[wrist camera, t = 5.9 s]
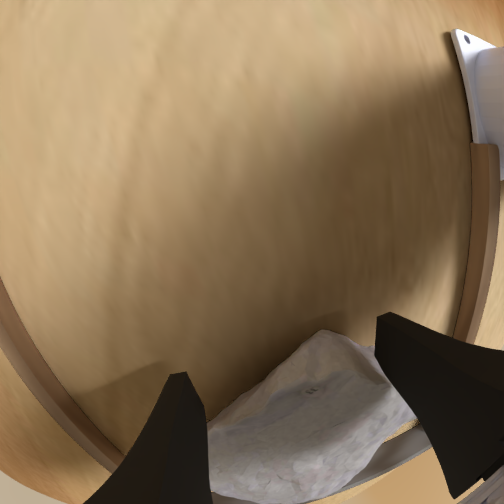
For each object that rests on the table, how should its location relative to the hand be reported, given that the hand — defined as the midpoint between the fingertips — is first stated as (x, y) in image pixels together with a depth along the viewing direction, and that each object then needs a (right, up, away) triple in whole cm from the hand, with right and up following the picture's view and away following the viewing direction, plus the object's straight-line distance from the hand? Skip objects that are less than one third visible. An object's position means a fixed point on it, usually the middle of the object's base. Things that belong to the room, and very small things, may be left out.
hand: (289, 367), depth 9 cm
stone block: (+1, -5, +4) cm, 6 cm away
